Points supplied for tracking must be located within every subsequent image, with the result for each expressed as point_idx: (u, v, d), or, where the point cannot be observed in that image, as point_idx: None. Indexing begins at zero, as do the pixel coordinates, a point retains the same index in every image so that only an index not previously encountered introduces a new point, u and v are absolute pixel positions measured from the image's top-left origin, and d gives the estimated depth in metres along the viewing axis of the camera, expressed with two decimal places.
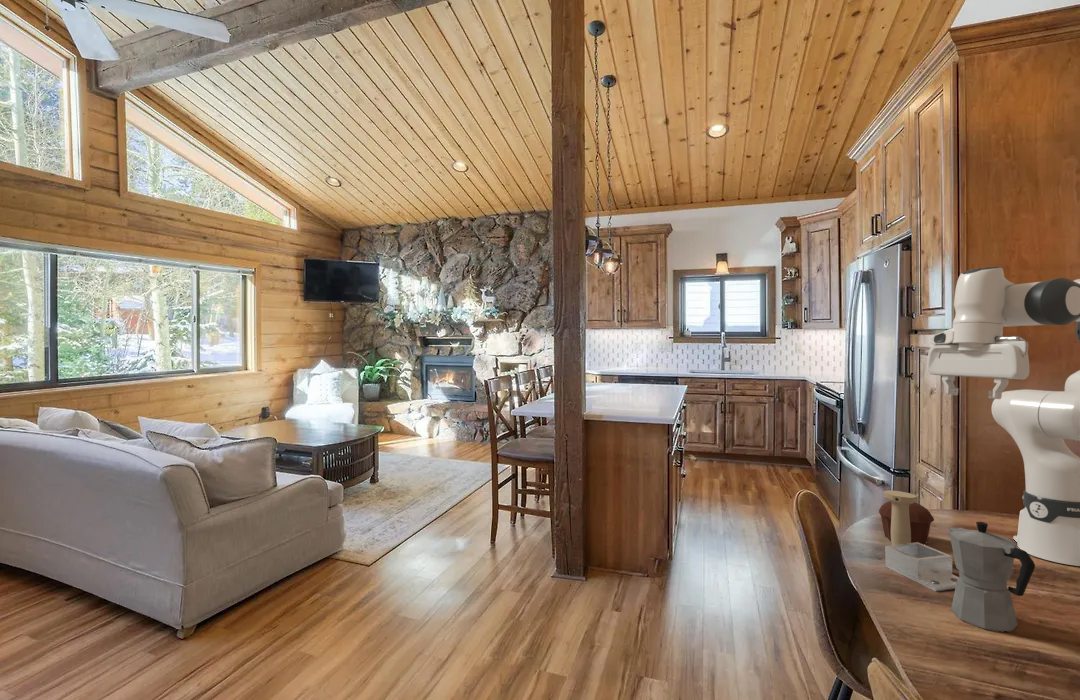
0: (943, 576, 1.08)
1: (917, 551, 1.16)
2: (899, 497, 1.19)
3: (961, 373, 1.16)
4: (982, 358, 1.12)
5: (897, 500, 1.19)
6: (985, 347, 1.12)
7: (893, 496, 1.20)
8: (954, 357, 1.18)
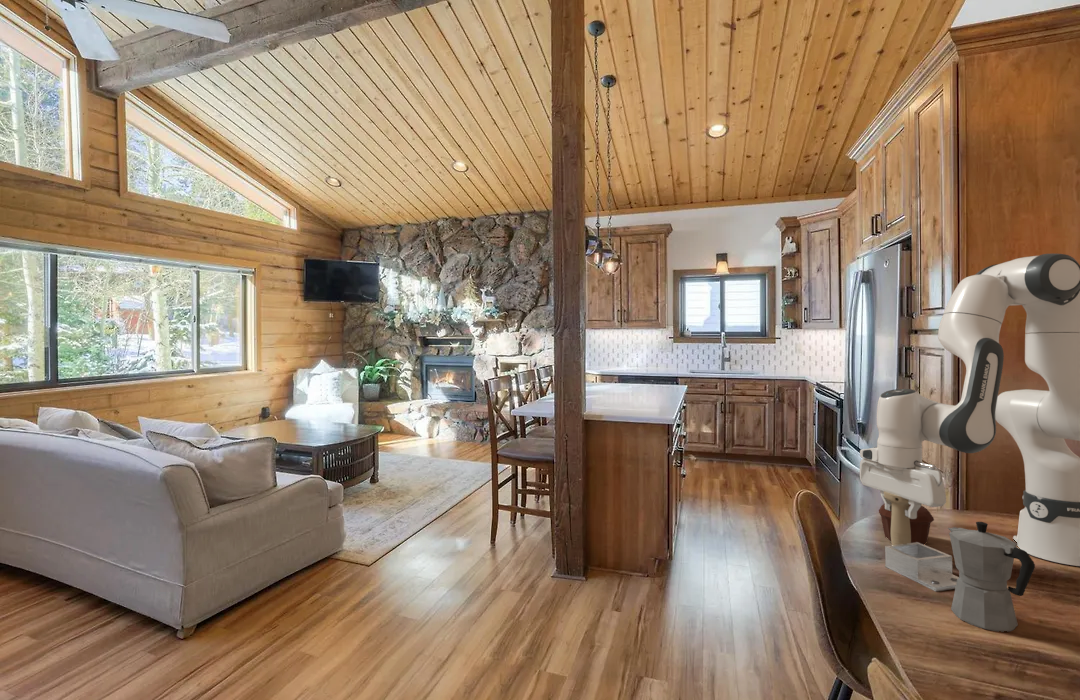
0: (943, 576, 1.08)
1: (917, 551, 1.16)
2: (899, 497, 1.19)
3: (888, 491, 1.22)
4: (904, 481, 1.18)
5: (897, 500, 1.19)
6: (906, 471, 1.17)
7: (893, 496, 1.20)
8: (882, 473, 1.24)
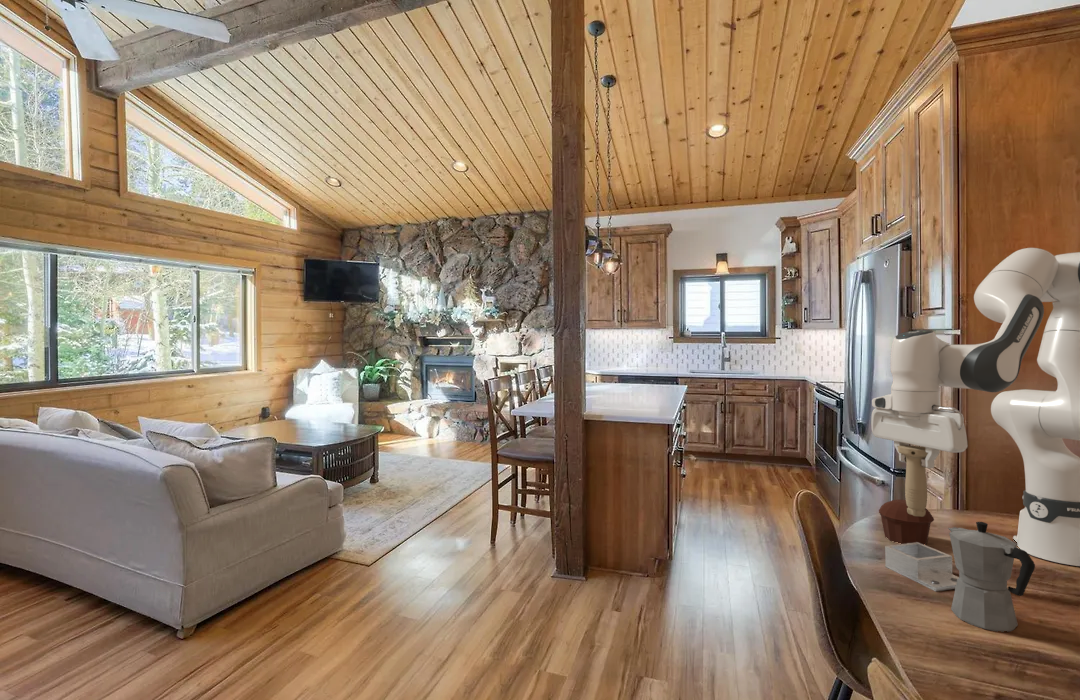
0: (943, 576, 1.08)
1: (917, 551, 1.16)
2: (916, 450, 1.10)
3: (903, 440, 1.13)
4: (921, 427, 1.09)
5: (913, 454, 1.10)
6: (923, 416, 1.08)
7: (909, 450, 1.11)
8: (896, 422, 1.15)
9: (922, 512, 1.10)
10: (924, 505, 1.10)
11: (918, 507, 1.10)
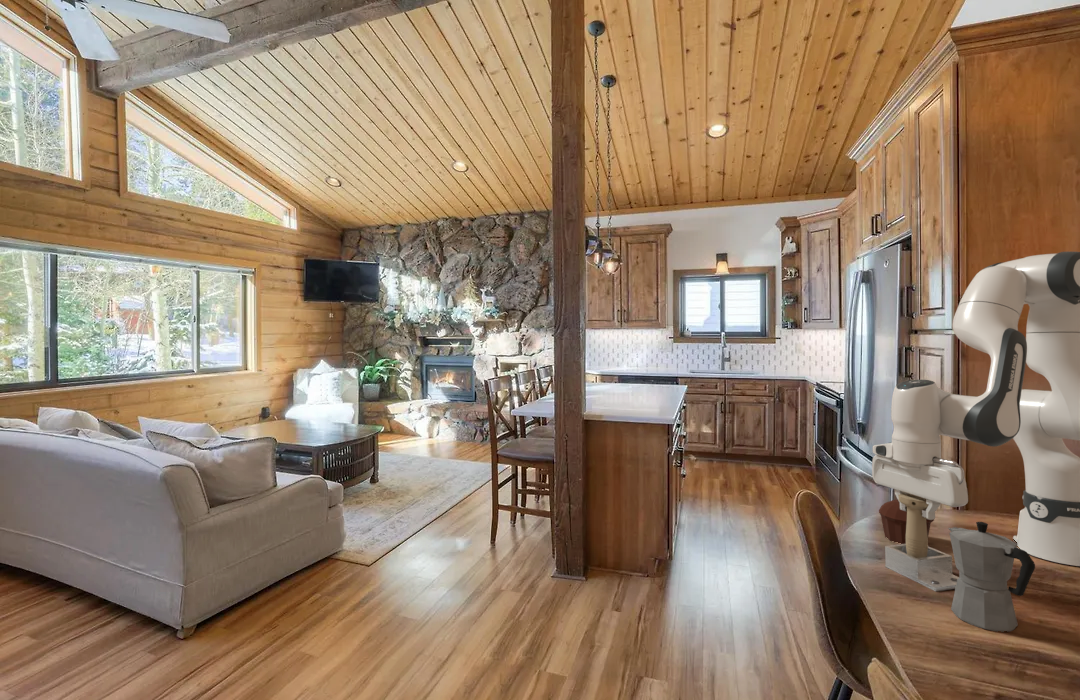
0: (943, 576, 1.08)
1: None
2: (916, 501, 1.10)
3: (904, 490, 1.13)
4: (922, 479, 1.09)
5: (914, 505, 1.10)
6: (924, 468, 1.08)
7: (910, 500, 1.11)
8: (896, 471, 1.15)
9: None
10: (924, 556, 1.10)
11: None
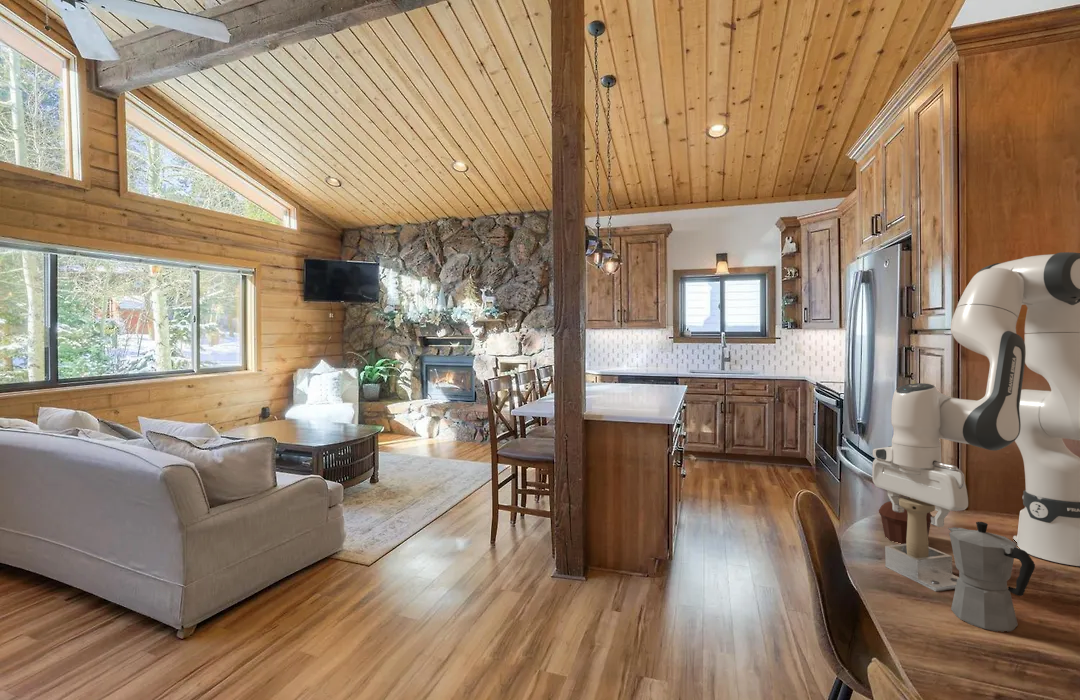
0: (943, 576, 1.08)
1: None
2: (917, 505, 1.10)
3: (904, 493, 1.13)
4: (922, 483, 1.09)
5: (915, 509, 1.10)
6: (924, 472, 1.08)
7: (910, 504, 1.11)
8: (897, 474, 1.15)
9: None
10: None
11: None
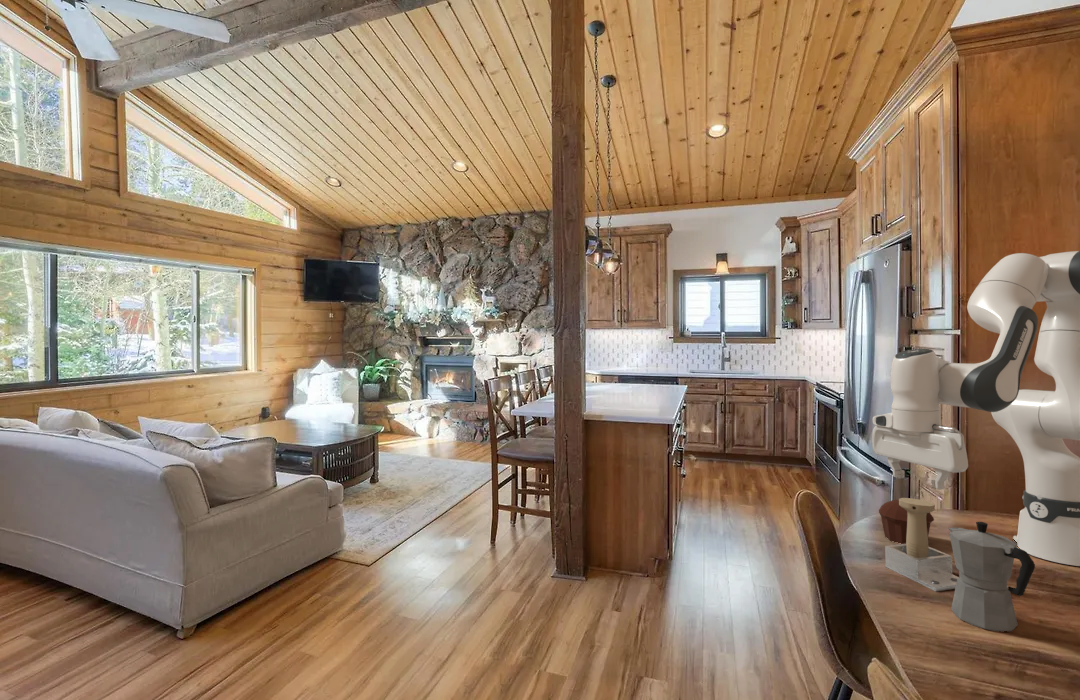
0: (943, 576, 1.08)
1: None
2: (917, 505, 1.10)
3: (904, 459, 1.14)
4: (922, 446, 1.10)
5: (914, 509, 1.10)
6: (924, 436, 1.09)
7: (910, 504, 1.11)
8: (897, 440, 1.16)
9: None
10: None
11: None
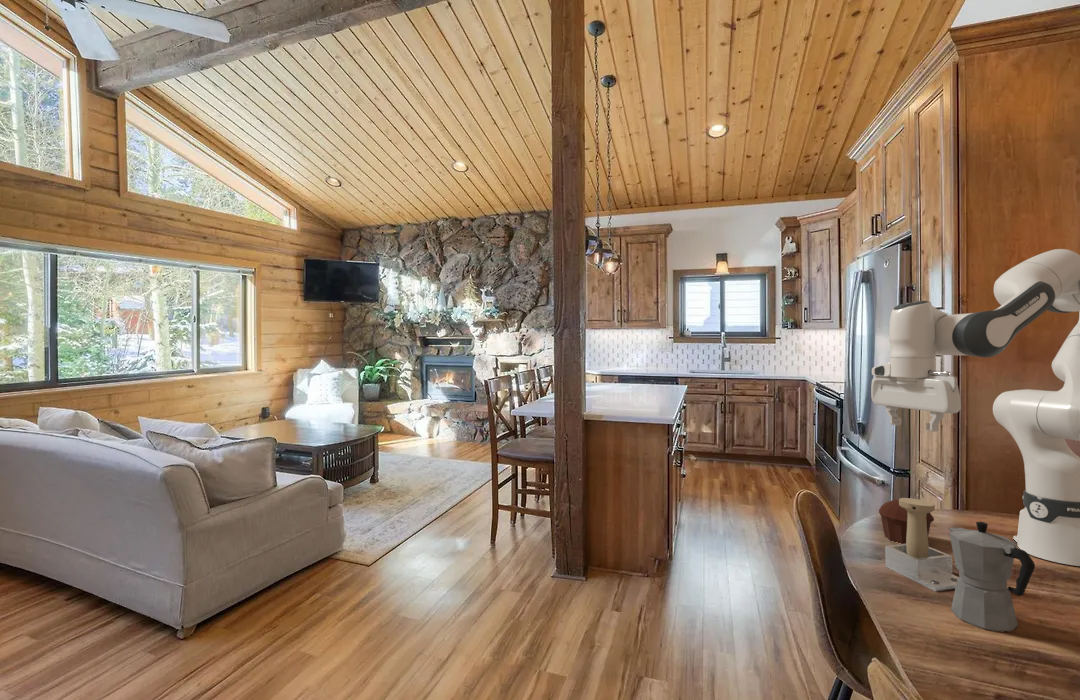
0: (943, 576, 1.08)
1: None
2: (917, 506, 1.10)
3: (901, 405, 1.20)
4: (918, 392, 1.16)
5: (914, 509, 1.10)
6: (919, 381, 1.15)
7: (910, 504, 1.11)
8: (894, 389, 1.22)
9: None
10: None
11: None
